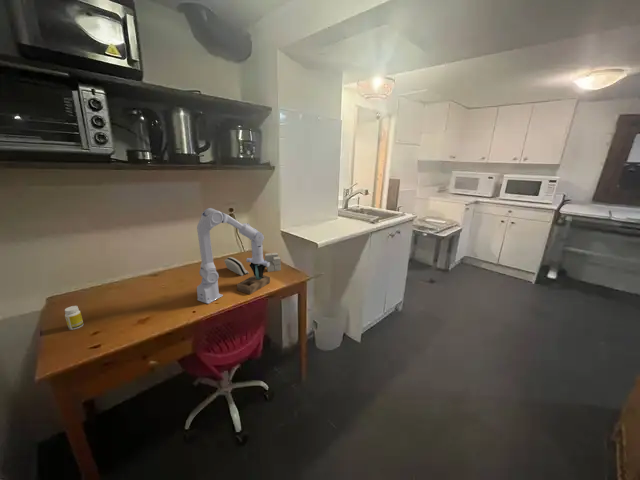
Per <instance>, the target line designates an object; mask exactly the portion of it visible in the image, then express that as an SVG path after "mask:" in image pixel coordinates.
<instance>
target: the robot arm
mask: <svg viewBox="0 0 640 480" xmlns="http://www.w3.org/2000/svg"><path fill="white" fill-rule="evenodd" d="M221 223H222V224H228V225H230V226H232V227H234V228H236V229H237V230H238V233H239V234H240V235H242V236H244V237H245V238H247V239H249V240H250V242H251V257H247V258H246V263H250V264H249V267H250V269H251V271H252V273H253V276H256V273H255V266H256V265H259V264H260V265H259V266H257V268H258V271H259V277H260V278H261V277H263V275H264V272H265V270H266V268H267V267H268V266H270V262H267V261H265V258H264V250H263V249H264V247H263V242H264V240H265V236H264V234H263V232H261V231H258V229H257V228H255V227H252V226H251V224H250V223H244V222H243V223H241V222H239V221H238V220H237V219H235V218H233V217H232V216H230V215H229V214H227V213H224V212H222V211H220V210H217V209H215V208H213V207H209V208H206V209H204V211H203V212H201V216H200V219H199V221H198V223H197V226H196V230H197V237H198V245H199V253H200V259H201V263H200V269H199V275H200V277H201V282H200V284H198V285H197V286H196V293H197V298H196V300H197V301H199V302H201V303H204V304H208V305H209V304H211V303H212V302H215V301H216V300H219V299H220V298H222V297H223V296H224V295H223V294H221V293H220V292H219V291H220V290H219V282H218V281H219V279H220V276H219V272H218V271H217V268H216V265H215V263H214V257H213V256H214V255H213V249H212V243H211V242H212V240H211V233H210V231H211V230H212V229H213V228H214V227H216V226H218V225H220V224H221Z"/></svg>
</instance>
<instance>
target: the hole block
mask: <svg viewBox="0 0 640 480" xmlns="http://www.w3.org/2000/svg"><path fill="white" fill-rule="evenodd" d="M270 283H271V276H268V275H264V274H263V277H261V279H260V280H257V279H256V276H254V275H252V276H250V277H248V278H246V279H244V280H242V281H240V282H238V283H237V284H236V290H237V291H239V292H241V293H245V294H248V295H251V294H253V293H255V292H257V291H258V290H260V289H262V288H264V287H265V286H267V285H268V284H270Z"/></svg>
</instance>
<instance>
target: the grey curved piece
mask: <svg viewBox="0 0 640 480" xmlns="http://www.w3.org/2000/svg"><path fill="white" fill-rule="evenodd" d="M224 263H225V266H226V268H227V269H228V270H230V272H231V271H232V272H233V273H235V274H237V275H239V276H240V277H243V276H244V275H245V274H250V272H249V271H248V270H246V268H245V267H244V264H243V262H241V261H240V260H238V259H237V258H235V257H232V256H229V257H227V258H225V259H224Z"/></svg>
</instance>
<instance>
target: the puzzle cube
mask: <svg viewBox="0 0 640 480" xmlns="http://www.w3.org/2000/svg"><path fill="white" fill-rule="evenodd" d="M264 260H265V261H267V262H270V266H268V267H266V270H267V273H268V272H278V271H281V270H282V266H281V257H280V256H279V254H278V252H269V253H268V252H267V253H264ZM259 265H260V264H259Z"/></svg>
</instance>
